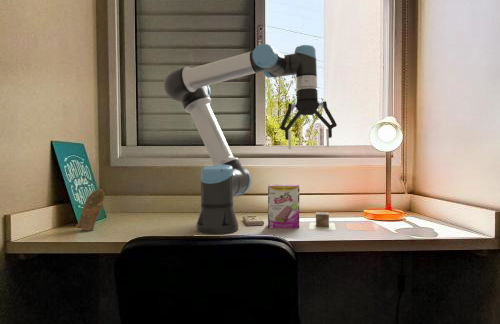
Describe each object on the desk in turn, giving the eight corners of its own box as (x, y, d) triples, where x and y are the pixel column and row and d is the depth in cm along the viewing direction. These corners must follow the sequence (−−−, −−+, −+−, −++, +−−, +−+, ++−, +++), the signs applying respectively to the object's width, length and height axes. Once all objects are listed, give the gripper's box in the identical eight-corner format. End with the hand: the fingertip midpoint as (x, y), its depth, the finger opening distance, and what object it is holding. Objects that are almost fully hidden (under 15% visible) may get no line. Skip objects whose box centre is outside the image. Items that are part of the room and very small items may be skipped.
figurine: (74, 231, 134) (74, 190, 133) (93, 227, 141) (92, 188, 141) (90, 233, 130) (89, 190, 129) (109, 229, 137) (108, 189, 137)
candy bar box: (267, 232, 129) (267, 185, 128) (268, 229, 134) (268, 184, 133) (299, 232, 128) (299, 185, 127) (299, 229, 133) (299, 184, 132)
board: (306, 233, 125) (306, 229, 125) (307, 225, 139) (307, 221, 139) (379, 236, 121) (379, 231, 121) (373, 227, 134) (373, 223, 134)
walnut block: (315, 226, 129) (315, 214, 129) (316, 224, 134) (316, 212, 134) (328, 227, 128) (328, 214, 128) (328, 224, 133) (328, 212, 133)
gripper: (271, 90, 132) (273, 149, 132) (342, 85, 127) (344, 146, 127) (274, 93, 139) (276, 149, 139) (341, 88, 134) (343, 146, 134)
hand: (308, 148), depth 133 cm, fingers open, 13 cm apart
